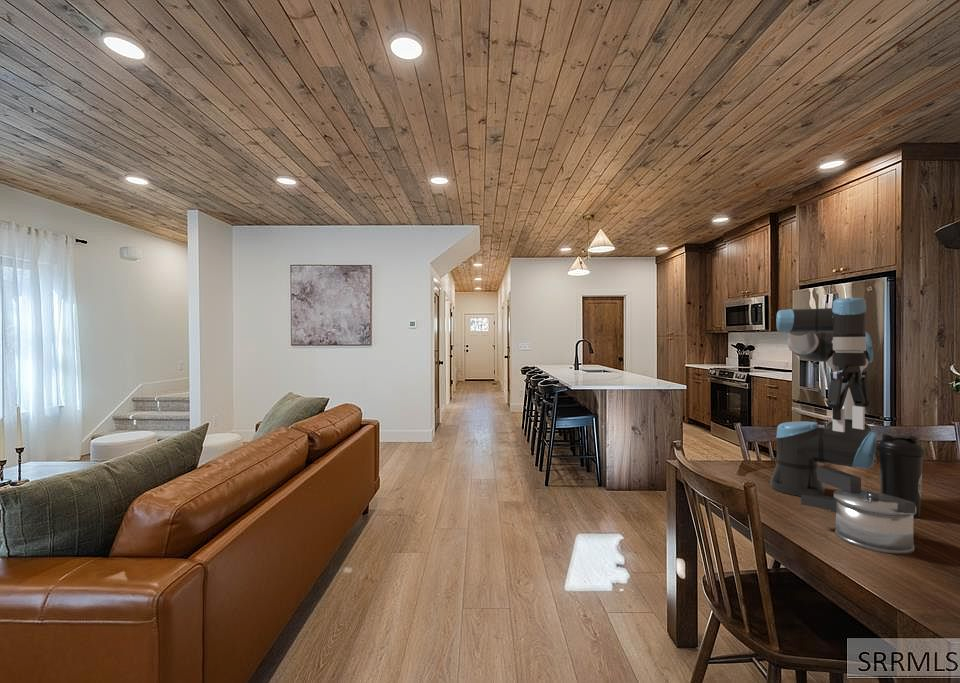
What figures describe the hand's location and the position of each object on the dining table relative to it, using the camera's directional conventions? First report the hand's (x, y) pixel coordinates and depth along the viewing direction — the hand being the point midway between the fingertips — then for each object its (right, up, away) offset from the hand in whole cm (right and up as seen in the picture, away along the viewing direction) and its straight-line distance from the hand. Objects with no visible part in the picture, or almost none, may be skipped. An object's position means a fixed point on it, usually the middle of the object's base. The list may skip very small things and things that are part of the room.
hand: (848, 429), depth 131 cm
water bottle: (+19, -26, +5) cm, 33 cm away
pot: (-8, -25, -12) cm, 29 cm away
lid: (-6, -16, -11) cm, 21 cm away
